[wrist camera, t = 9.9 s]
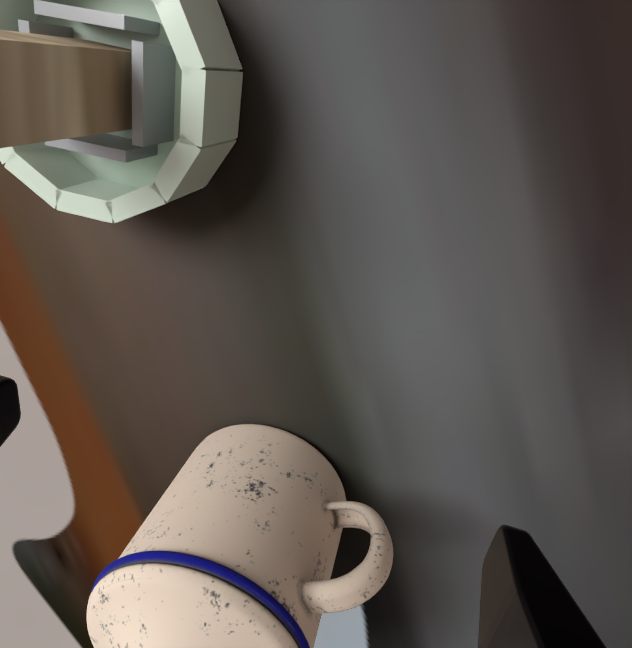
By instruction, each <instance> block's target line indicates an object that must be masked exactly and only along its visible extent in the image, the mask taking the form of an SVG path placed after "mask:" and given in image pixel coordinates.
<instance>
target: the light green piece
mask: <svg viewBox="0 0 632 648" xmlns="http://www.w3.org/2000/svg"><path fill="white" fill-rule="evenodd" d="M0 30H7V31H15V32H24V33H32V34H41V35H50V36H58V37H67V38H75V39H84V40H91V41H95V42H100V43H104V44H109V45H113V46H118V47H122V48H127V49H131V50H132V129H130V130H123V131H116V132H109V133H102V134H96V135H89V136H82V137H75V138H68V139H61V140H54V141H47V142H40V143H33V144H27V145H20V146H13V147H6V148H0V161H1V163H2V164H5V168H6V169H8V170H9V171H10V172H11V173H12V174H14V175H15V176H16V177H17V178H18V179H20V180H21V181H22V182H23V183H24V184H25V185H27V186H28V187H29V188H30V189H31V190H33V191H34V192H35V193H36V194H37V195H39V196H40V197H41V198H42V199H43V200H45V201H46V202H47V203H48V204H49V205H51V206H52V207H53V208H54V209H55V208H57V210H59V211H63V212H67V213H72V214H76V215H80V216H84V217H88V218H92V219H97V220H101V221H105V222H109V223H114V222H115V223H117V222H119V221H122V220H125V219H127V218H130V217H132V216H135V215H138V214H140V213H143V212H145V211H148V210H151V209H153V208H156V207H159V206H161V205H164V204H166V203H169V202H171V201H173V200H176V199H178V198H181V197H183V196H185V195H188V194H190V193H192V192H195V191H197V190H200V189H202V188H204V187H205V186H206V185H207V184H208V182H209V181H210V179H211V178H212V176H213V175H214V173H215V172H216V170H217V169H218V168H219V166H220V165H221V163H222V162H223V160H224V159H225V157H226V156H227V154H228V153H229V151H230V150H231V148H232V147H233V145H234V144H235V142H236V141H237V140H235V139H236V138H238V127H239V115H240V103H241V92H242V80H243V72H239V70H241V69H243V68H242V66H241V63H240V60H239V58H238V55H237V52H236V50H235V47H234V44H233V42H232V39H231V36H230V34H229V31H228V28H227V26H226V23H225V20H224V18H223V15H222V12H221V10H220V7H219V4H218V2H217V0H0Z"/></svg>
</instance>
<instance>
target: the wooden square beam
mask: <svg viewBox="0 0 632 648" xmlns="http://www.w3.org/2000/svg"><path fill="white" fill-rule="evenodd" d="M130 129H132V50H131V49H127V48H122V47H118V46H113V45H109V44H104V43H100V42H95V41H91V40H84V39H75V38H67V37H58V36H50V35H41V34H32V33H24V32H15V31H7V30H0V148H6V147H13V146H20V145H27V144H33V143H40V142H47V141H54V140H61V139H68V138H75V137H82V136H89V135H96V134H102V133H109V132H116V131H123V130H130Z"/></svg>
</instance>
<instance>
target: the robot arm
mask: <svg viewBox="0 0 632 648" xmlns="http://www.w3.org/2000/svg"><path fill="white" fill-rule="evenodd" d="M20 415H21V412H20V404H19V396H18V389H17V384H16V383H15V381H14V380H12V379H11V378H7V377H4V376H0V446H1V445H2V444H3V443H4V442H5V440H6V439H7V438H8V437H9V435H10V434H11V433H12V432H13V431H14V429H15V428H16V426H17V425H18V423H19V420H20ZM478 648H606V646H605V645H604V643H603V642H602V641H601V639H600V638H599V636H598V635H597V633H596V632H595V630H594V629H593V627H592V626H591V624H590V623H589V621H588V620H587V618H586V617H585V615H584V614H583V612H582V611H581V610H580V608H579V607H578V605H577V604H576V602H575V601H574V599H573V598H572V596H571V595H570V593H569V592H568V590H567V589H566V587H565V586H564V584H563V583H562V581H561V580H560V579H559V577H558V576H557V574H556V573H555V571H554V570H553V568H552V567H551V565H550V564H549V562H548V561H547V559H546V558H545V556H544V555H543V553H542V552H541V550H540V549H539V547H538V546H537V545H536V543H535V542H534V540H533V539H532V537H531V536H530V534H529V533H527V532H526V531H524V530H521V529H518V528H514V527H511V526H508V525H502V526H500V527H499V529H498V530H497V532H496V534H495V537H494V539H493V541H492V543H491V545H490V548H489V550H488V552H487V554H486V556H485V559H484V563H483V569H482V583H481V601H480V620H479V639H478Z"/></svg>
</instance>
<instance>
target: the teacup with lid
mask: <svg viewBox="0 0 632 648" xmlns="http://www.w3.org/2000/svg"><path fill="white" fill-rule="evenodd" d="M343 528H359V529H363V530H365V531H367V532H368V533H370V534H371V542H370V547H369V551H368V553H367V555H366V557H365V559H364V560H363V561H362V563H361V564H360V565H358V566H357V567H356V568H355V569H354V570H352V571H351V572H349V573H347V574H346V575H343V576H341V577H338V578H335V579H330V578H331V574H332V570H333V566H334V562H335V558H336V554H337V550H338V546H339V542H340V537H341V533H342V529H343ZM392 563H393V545H392V540H391V537H390V534H389V531H388V529H387V527H386V525H385V523H384V521H383V519H382V518H381V517H380V515H379V514H378V513H377V512H376V511H375V510H374V509H372V508H371V507H369V506H368V505H365V504H363V503H360V502H353V501H346V496H345V492H344V488H343V485H342V483H341V480H340V478H339V476H338V474H337V473H336V471H335V470H334V468H333V467H332V465H331V464H330V463H329V462H328V460H327V459H326V458H325V457H324V456H323V455H322V454H321V453H320V452H319V451H318V450H316V449H315V448H314V447H313V446H311V445H310V444H309V443H307V442H306V441H304V440H303V439H301V438H299V437H297V436H295V435H293V434H291V433H289V432H287V431H284V430H281V429H278V428H274V427H271V426H265V425H257V424H240V425H234V426H229V427H226V428H223V429H220V430H218V431H216V432H214V433H212V434H210V435H209V436H208V437H206V438H205V439H204V440H203V441H202V442H201V443H200V444H199V445H198V446H197V448H196V449H195V450H194V452H193V453H192V455H191V456H190V457H189V459H188V460H187V462H186V463H185V464H184V466H183V467H182V469H181V470H180V472H179V473H178V474H177V476H176V477H175V479H174V480H173V482H172V483H171V484H170V486H169V487H168V489H167V490H166V491H165V493H164V494H163V496H162V497H161V499H160V500H159V501H158V503H157V504H156V506H155V507H154V509H153V510H152V511H151V513H150V514H149V516H148V517H147V518H146V520H145V521H144V523H143V524H142V526H141V527H140V528H139V530H138V531H137V533H136V534H135V536H134V537H133V538H132V540H131V541H130V543H129V544H128V546H127V547H126V548H125V550H124V551H123V553H122V554H121V555H120V557H119V558H118V559H117V560H115V561H114V562H112V563H110V564H109V565H108V566H107V567H106V568H104V569H103V571H102V572H101V573H100V574H99V576H98V577H97V579H96V581H95V583H94V585H93V588H92V591H91V595H90V598H89V601H88V606H87V627H88V632H89V636H90V639H91V641H92V644H93V646H94V648H313V647H314V642H315V638H316V634H317V630H318V626H319V622H320V618H321V614H322V613H332V612H340V611H344V610H349V609H352V608H354V607H356V606H359V605H361V604H362V603H364V602H366V601H367V600H368V599H370V598H371V597H372V596H374V595H375V594H376V593H377V592H378V591H379V590H380V589H381V588H382V586H383V585H384V583H385V582H386V580H387V578H388V576H389V574H390V571H391V568H392Z"/></svg>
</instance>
